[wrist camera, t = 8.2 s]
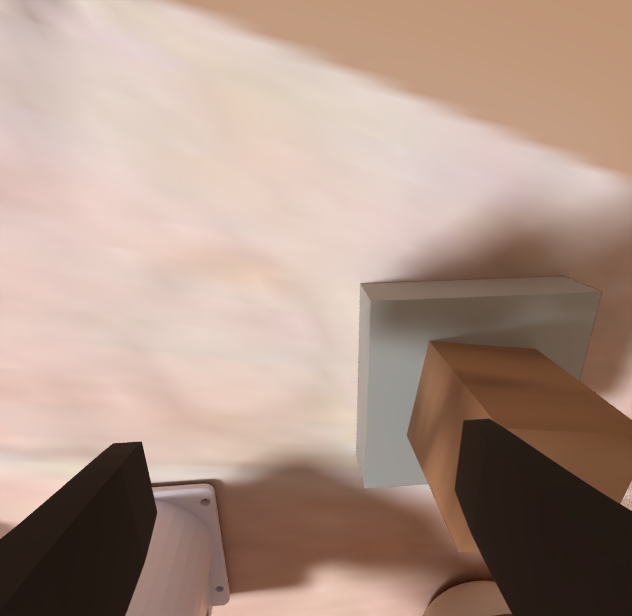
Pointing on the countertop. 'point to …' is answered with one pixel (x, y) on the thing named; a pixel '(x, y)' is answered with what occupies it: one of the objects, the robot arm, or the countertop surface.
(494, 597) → the black egg figure
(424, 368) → the walnut block
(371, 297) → the block
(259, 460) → the countertop surface
